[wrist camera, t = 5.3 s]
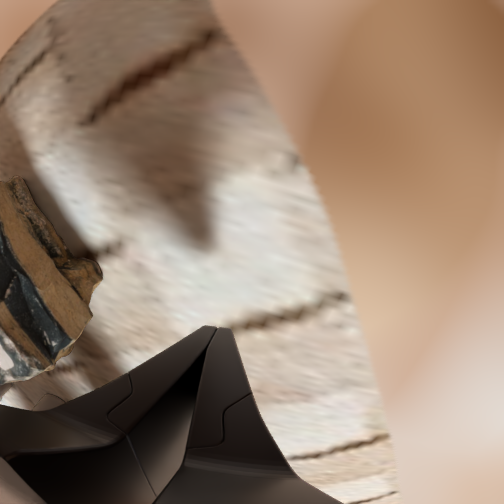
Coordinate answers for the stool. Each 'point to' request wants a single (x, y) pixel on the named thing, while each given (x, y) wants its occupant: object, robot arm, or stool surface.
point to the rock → (38, 288)
